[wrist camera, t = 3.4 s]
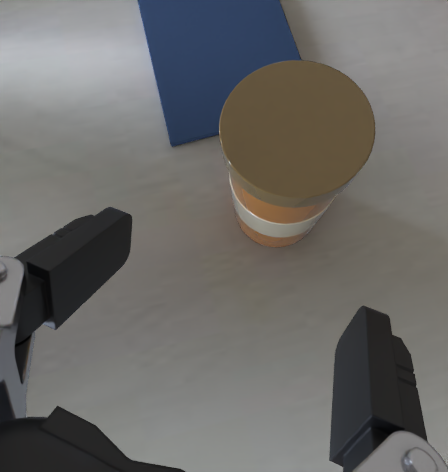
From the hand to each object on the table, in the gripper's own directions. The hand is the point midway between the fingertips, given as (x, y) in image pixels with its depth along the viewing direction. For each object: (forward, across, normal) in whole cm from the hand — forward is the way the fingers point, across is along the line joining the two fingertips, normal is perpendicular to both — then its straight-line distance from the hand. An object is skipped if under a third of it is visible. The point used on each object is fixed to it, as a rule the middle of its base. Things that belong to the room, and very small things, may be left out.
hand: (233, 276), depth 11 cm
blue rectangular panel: (+21, +10, -6) cm, 24 cm away
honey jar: (+12, 0, +3) cm, 12 cm away
